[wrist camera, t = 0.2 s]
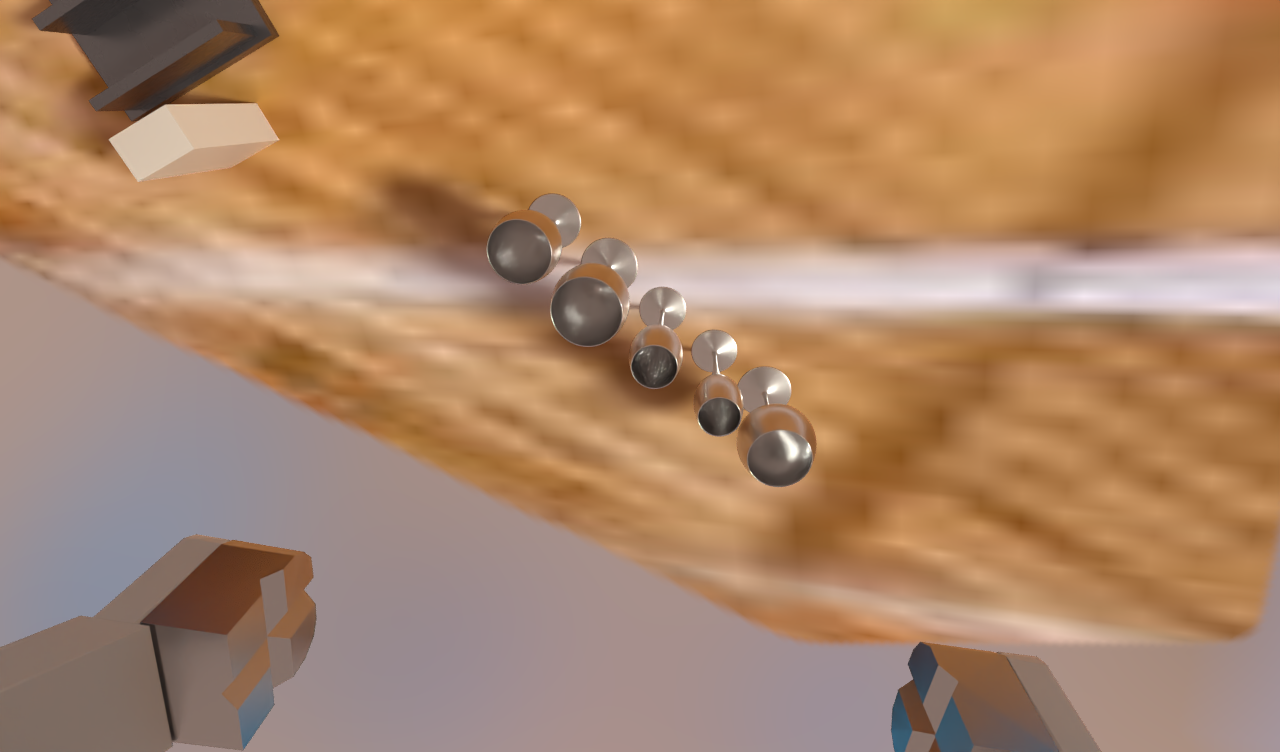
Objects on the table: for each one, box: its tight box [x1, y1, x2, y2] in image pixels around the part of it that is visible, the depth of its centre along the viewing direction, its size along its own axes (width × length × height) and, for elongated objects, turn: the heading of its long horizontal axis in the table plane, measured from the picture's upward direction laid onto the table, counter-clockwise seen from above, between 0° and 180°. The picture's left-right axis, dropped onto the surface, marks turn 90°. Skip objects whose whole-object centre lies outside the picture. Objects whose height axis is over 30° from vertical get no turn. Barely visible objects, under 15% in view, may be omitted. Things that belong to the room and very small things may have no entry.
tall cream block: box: [109, 103, 279, 182], centre depth 50 cm, size 3×5×10 cm, turn 115°
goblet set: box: [487, 193, 816, 487], centre depth 51 cm, size 28×6×13 cm, turn 51°
